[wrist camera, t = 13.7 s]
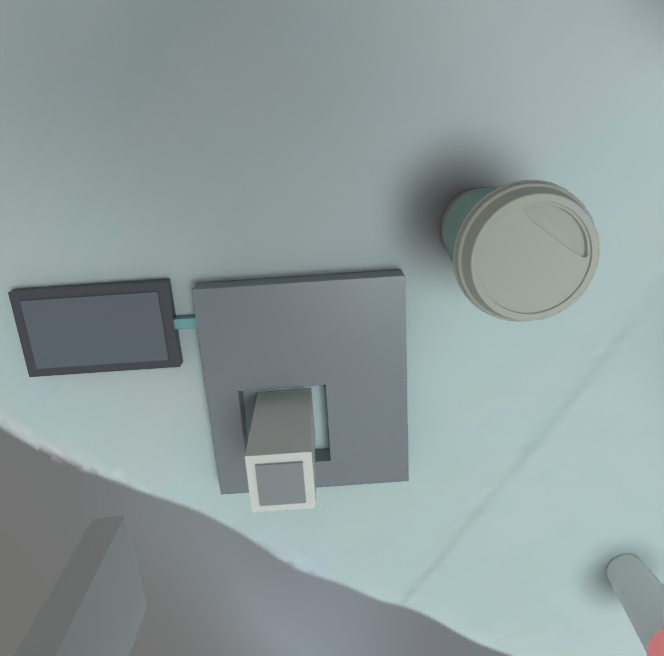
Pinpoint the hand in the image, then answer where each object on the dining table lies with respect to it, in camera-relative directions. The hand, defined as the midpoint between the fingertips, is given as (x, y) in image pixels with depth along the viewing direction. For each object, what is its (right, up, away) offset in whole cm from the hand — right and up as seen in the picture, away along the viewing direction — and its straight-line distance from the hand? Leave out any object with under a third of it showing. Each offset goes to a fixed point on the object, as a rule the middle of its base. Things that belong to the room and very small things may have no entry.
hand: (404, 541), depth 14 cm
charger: (-6, -2, +35) cm, 36 cm away
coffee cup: (+9, +13, +31) cm, 35 cm away
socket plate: (-4, +1, +34) cm, 35 cm away
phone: (-16, +5, +32) cm, 36 cm away
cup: (+26, -18, +42) cm, 53 cm away
